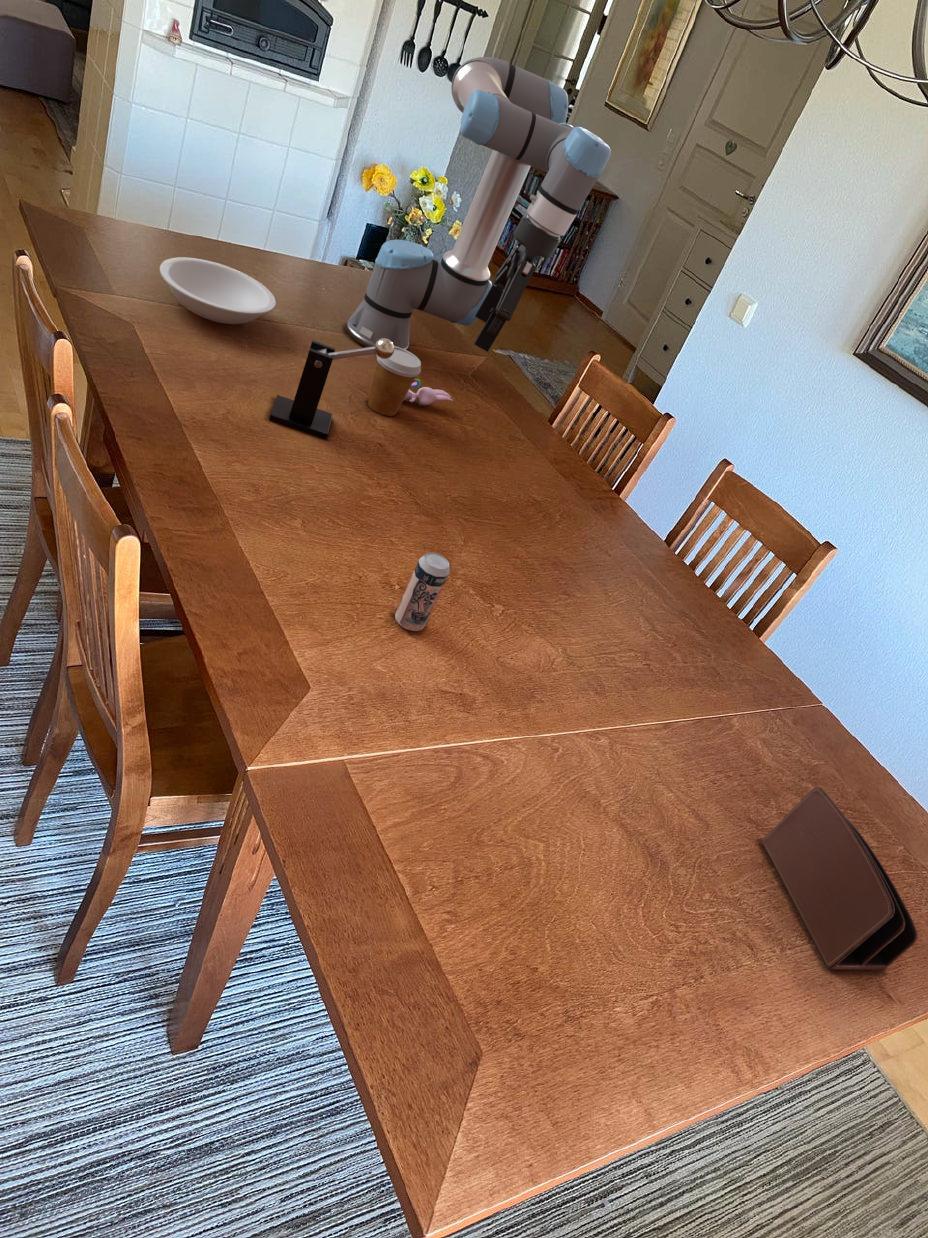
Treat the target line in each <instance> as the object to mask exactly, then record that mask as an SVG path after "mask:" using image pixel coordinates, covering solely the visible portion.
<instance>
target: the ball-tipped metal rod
mask: <svg viewBox="0 0 928 1238" xmlns="http://www.w3.org/2000/svg"><path fill="white" fill-rule="evenodd" d="M316 351H319V352H322V353H324V354H327V355H330V356H333V361H335V360H341V359H348V358H355V357H361V356H368V355H376V357H377V356H378V357H380V358H382V359H387V358H389V357H391V356H392V355H393V353H394V344H393V343H392V341H391V340H389V339H387V338H382V339H379V340H378V341H377V342H376V344H375V346H374V347H367V348H366V347H362V348H356V349H355V348H354V349H347V350H342V351H335V352H334V353H327V349H321V350H316Z"/></svg>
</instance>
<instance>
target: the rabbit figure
mask: <svg viewBox="0 0 928 1238" xmlns="http://www.w3.org/2000/svg"><path fill="white" fill-rule="evenodd" d="M421 385H422V382H421V379H419V378H415V380H414V382H413V383H412V385H411V387H410V389H409V391H408V392H407V394H406V396H405V398H404V400H403V401H406V400H407V401H409V402H410V403H413V402H416V403H418V405H419V406H427V405H428V406H429V405H432V404H433V403H434V402H441V401H450V402H454V400H453V399H452V396H451V395H450V394H449V393H448V392H446V391H445V390H442V389H432V388H431V387H429V386H423V387H420V386H421ZM419 387H420V388H419ZM413 389H418V390H417V391H416V392H413V391H412V390H413Z"/></svg>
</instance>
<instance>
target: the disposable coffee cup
mask: <svg viewBox="0 0 928 1238" xmlns="http://www.w3.org/2000/svg"><path fill="white" fill-rule="evenodd" d="M421 366H422V362H421V359H419V357H418V356H417V355H415V354H414V353H412V352H411V351H410V350H408V349H407V350H405V349H402V348H399V347H396V346H394V353H393V355H392V356H391V357H389V358H387V359H382V358H380V357H378V356H377V355H376V364H375V369H374V373H373V378H372V383H371V387H370V391H369V396H368V400H367V405H368V407H369V408H370V409H371V410H373V411H374V412H376V413H378V414H380V415H383V416H389V417H392V416H396V415H397V413H398V411H399V409H400V407H401V406H402V404H403V402H404V401H405V400H404V398H405V396H406V394H407V392H408V391H409V389H410V390H411V388H410V387H411V385H412V383H414V382H415V379H417V377H418V375H419V374H421V372H422V367H421Z"/></svg>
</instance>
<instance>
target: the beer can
mask: <svg viewBox="0 0 928 1238" xmlns="http://www.w3.org/2000/svg"><path fill="white" fill-rule="evenodd" d="M450 569H451V568H450V563H449V560H448V559H447V558H446V557H445V556H443V555H442V554H438V553H436V552H426V554H424V555H423V556H421V557H419V559H418V561H417V563H416V566H415V568H414V570H413V572H412V575H411V577H410V580H409V582H408V584H407V586H406V588H405V591H404V593H403V595H402V597H401V600H400V602H399V604H398V608H397V609H396V611H395V614H394V618H395V621H396V622H397V624H398V625H400V626H401V627H402V628H404V629H405V630H408V631H413V632H414V631H415V632H419V631H422V630H423V629H424V628H425V626H426V624H427V622H428V621H429V618H430V617H431V616H430V615H431V614H432V611H433V610H434V607H435V605H436V603H437V601H438V599H439V597H440V594H441V592H442V591H443V588H444V586H445V584H446V581H447V579H448V577H449V575H450V572H451V570H450Z"/></svg>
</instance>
